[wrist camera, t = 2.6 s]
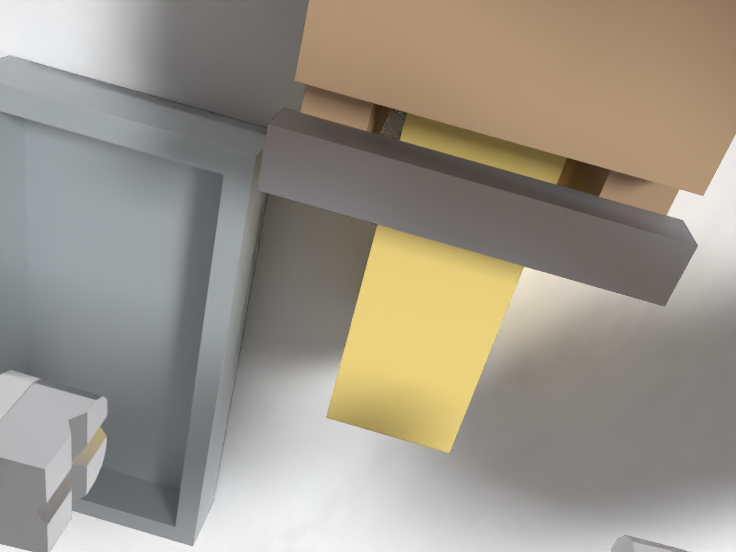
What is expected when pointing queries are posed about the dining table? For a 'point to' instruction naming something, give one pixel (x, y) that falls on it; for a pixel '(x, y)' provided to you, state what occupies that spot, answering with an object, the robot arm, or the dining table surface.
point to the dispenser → (518, 126)
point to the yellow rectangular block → (429, 310)
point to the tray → (129, 276)
